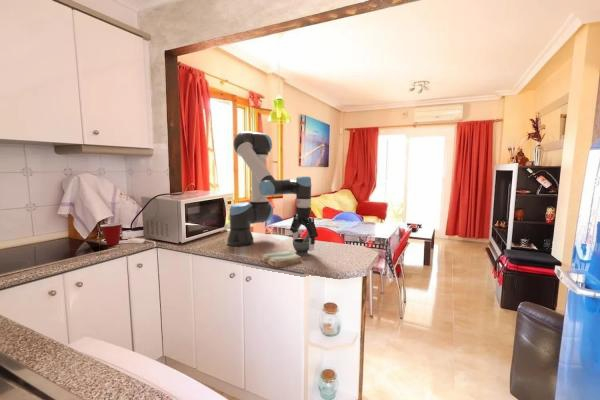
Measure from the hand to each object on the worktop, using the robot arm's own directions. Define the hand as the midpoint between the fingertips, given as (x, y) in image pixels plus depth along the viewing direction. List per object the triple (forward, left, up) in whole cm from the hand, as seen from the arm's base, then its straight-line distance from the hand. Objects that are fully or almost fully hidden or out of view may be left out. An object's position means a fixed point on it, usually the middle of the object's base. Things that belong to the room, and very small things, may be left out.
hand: (303, 247), depth 152 cm
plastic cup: (-78, -77, -3) cm, 110 cm away
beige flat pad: (+3, -16, -3) cm, 17 cm away
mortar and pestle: (0, 0, -4) cm, 4 cm away
